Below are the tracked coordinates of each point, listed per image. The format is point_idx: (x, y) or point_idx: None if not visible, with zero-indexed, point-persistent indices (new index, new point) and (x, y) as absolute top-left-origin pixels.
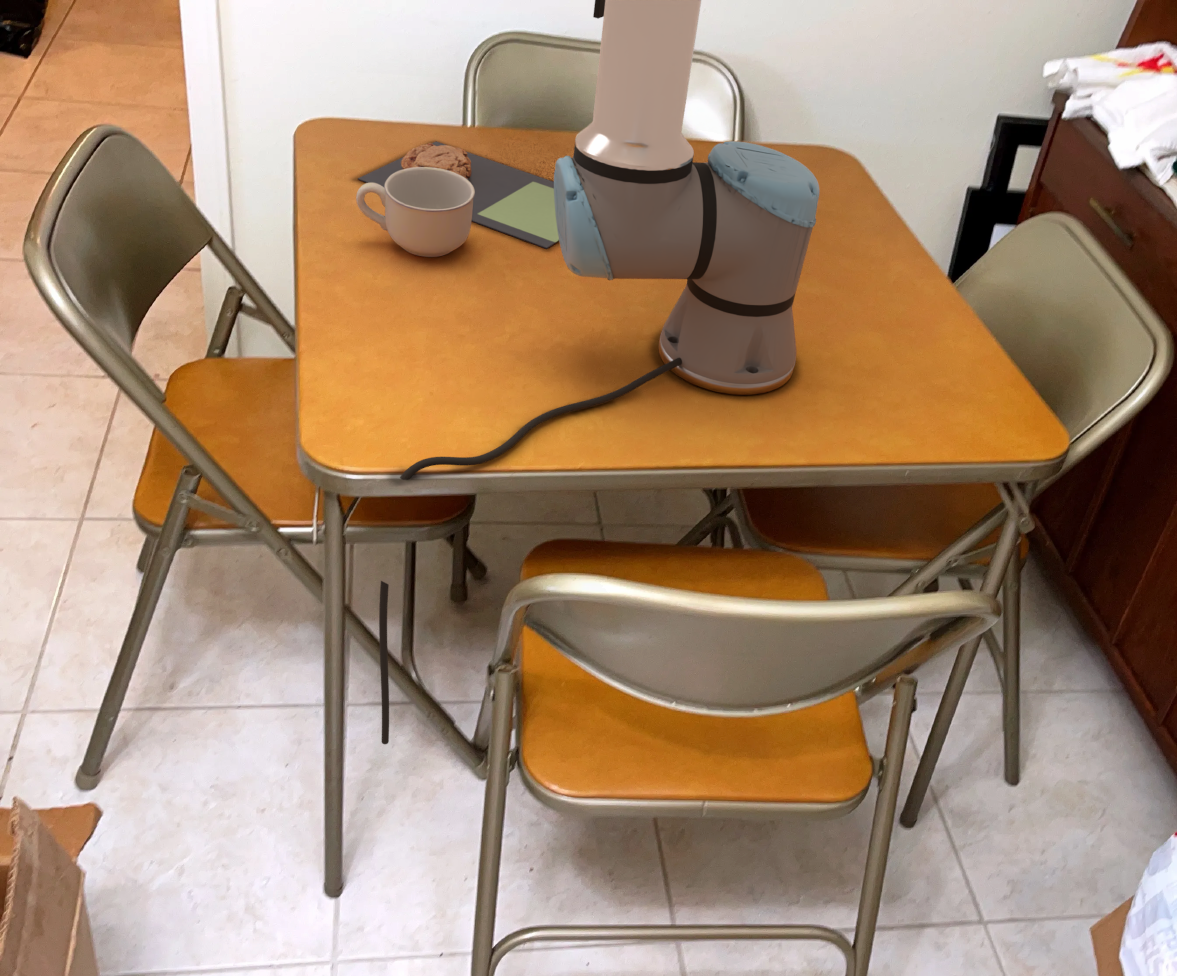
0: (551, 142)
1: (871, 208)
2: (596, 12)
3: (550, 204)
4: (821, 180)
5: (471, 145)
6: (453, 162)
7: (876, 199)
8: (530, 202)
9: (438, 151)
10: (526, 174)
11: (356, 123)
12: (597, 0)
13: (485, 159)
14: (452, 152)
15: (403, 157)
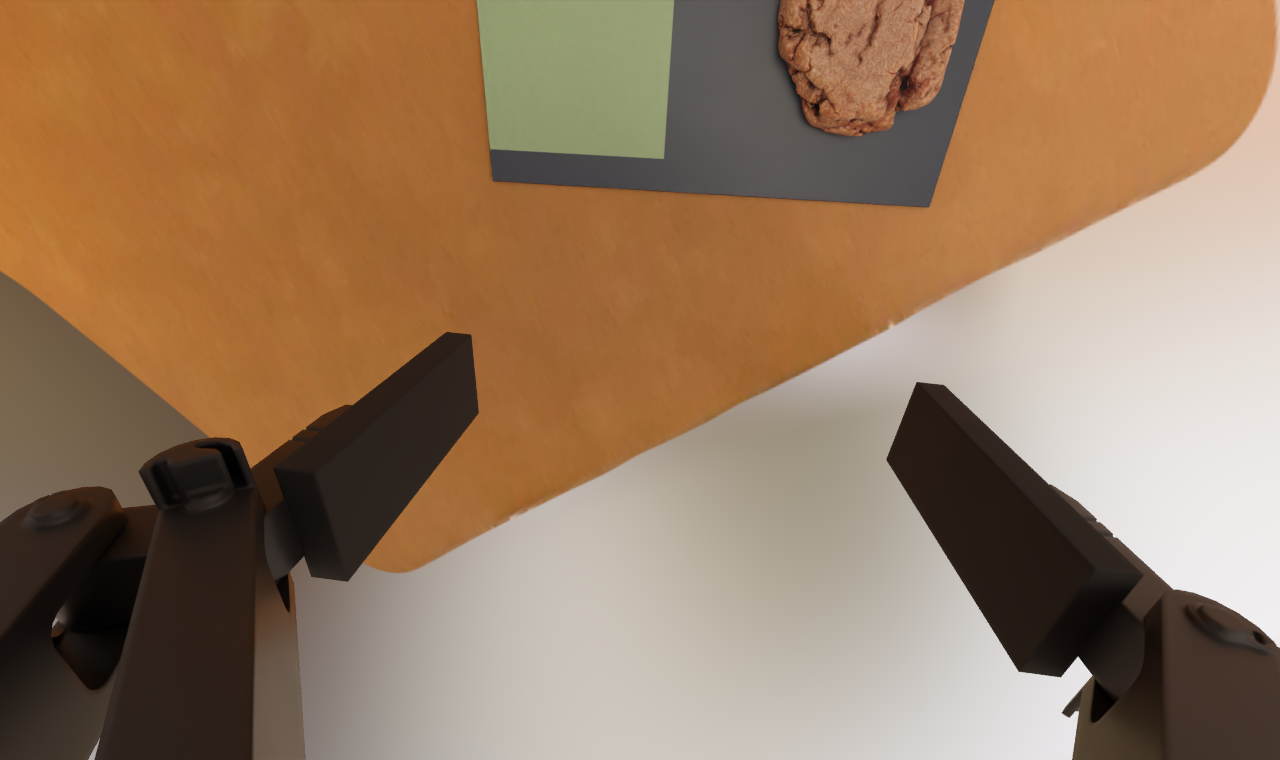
0: (722, 361)
1: None
2: (448, 343)
3: (579, 71)
4: None
5: (852, 247)
6: (824, 9)
7: None
8: (616, 47)
9: (884, 40)
10: (691, 183)
11: (1145, 179)
12: (423, 365)
13: (796, 193)
14: (851, 71)
15: (971, 62)
